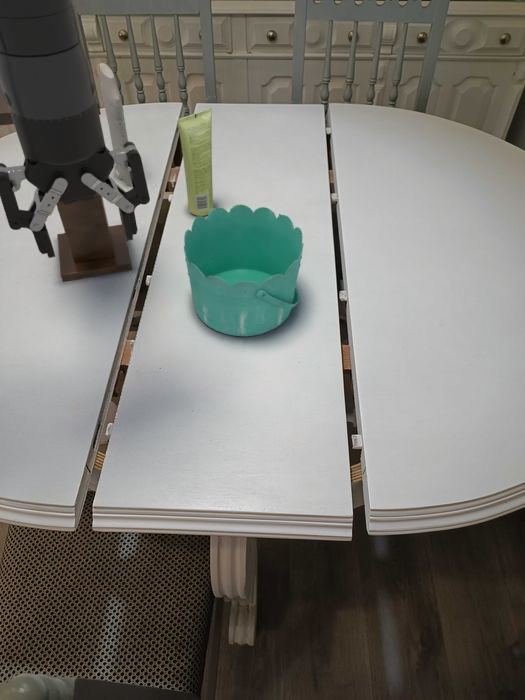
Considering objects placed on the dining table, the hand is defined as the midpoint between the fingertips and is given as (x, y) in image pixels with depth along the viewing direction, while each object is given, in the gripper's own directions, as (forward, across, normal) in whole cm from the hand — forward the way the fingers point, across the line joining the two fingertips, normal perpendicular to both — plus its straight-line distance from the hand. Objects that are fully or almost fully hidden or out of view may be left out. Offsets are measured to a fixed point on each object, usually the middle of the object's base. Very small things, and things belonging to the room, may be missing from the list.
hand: (90, 244), depth 59 cm
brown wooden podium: (+25, -1, -28) cm, 37 cm away
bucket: (+25, -22, -10) cm, 35 cm away
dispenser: (+25, -13, -56) cm, 63 cm away
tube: (+25, -24, -38) cm, 51 cm away
